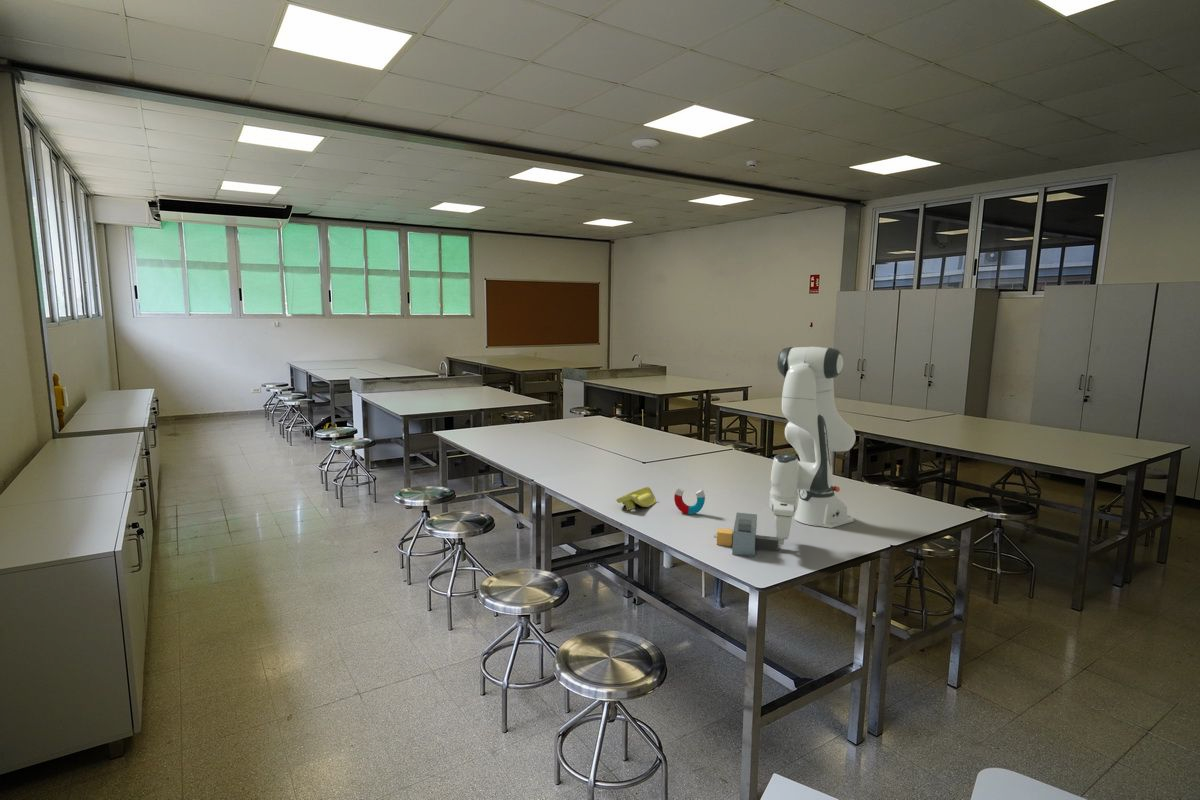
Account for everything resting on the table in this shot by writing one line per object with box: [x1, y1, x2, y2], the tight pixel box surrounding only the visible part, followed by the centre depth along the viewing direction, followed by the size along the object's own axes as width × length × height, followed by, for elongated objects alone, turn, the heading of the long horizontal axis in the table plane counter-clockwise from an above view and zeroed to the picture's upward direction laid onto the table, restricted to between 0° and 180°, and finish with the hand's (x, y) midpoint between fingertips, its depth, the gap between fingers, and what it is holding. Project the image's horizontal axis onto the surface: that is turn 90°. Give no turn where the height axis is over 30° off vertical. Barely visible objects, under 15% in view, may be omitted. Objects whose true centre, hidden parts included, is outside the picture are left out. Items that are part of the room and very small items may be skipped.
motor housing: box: [731, 512, 758, 558], centre depth 204 cm, size 7×20×10 cm, turn 164°
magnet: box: [673, 486, 706, 515], centre depth 237 cm, size 12×3×10 cm, turn 73°
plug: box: [713, 527, 779, 552], centre depth 204 cm, size 21×4×4 cm, turn 75°
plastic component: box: [615, 486, 657, 511], centre depth 246 cm, size 20×7×10 cm
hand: (780, 543), depth 201 cm, fingers closed
